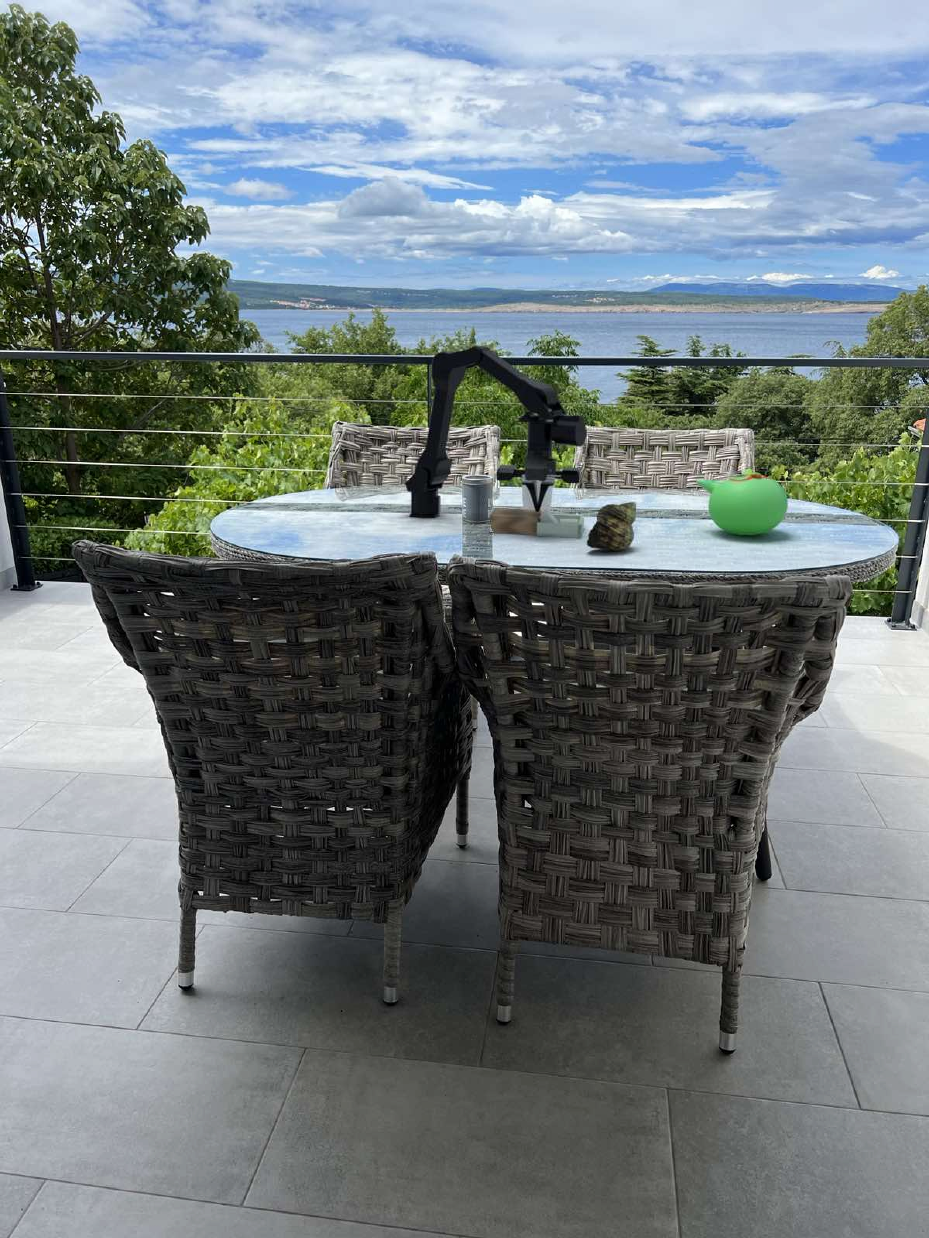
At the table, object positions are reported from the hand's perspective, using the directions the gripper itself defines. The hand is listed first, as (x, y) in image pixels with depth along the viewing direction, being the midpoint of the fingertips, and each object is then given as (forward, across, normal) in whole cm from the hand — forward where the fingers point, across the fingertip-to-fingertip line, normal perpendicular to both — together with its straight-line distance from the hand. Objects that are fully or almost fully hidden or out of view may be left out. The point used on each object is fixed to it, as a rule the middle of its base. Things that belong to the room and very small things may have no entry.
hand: (537, 511), depth 228 cm
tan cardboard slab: (+4, -5, 0) cm, 7 cm away
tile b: (+2, +7, 0) cm, 8 cm away
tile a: (+2, +2, 0) cm, 3 cm away
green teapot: (+5, +47, +7) cm, 48 cm away
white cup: (+5, -2, +19) cm, 20 cm away
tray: (+4, +6, 0) cm, 7 cm away
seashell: (+5, +17, -15) cm, 23 cm away
